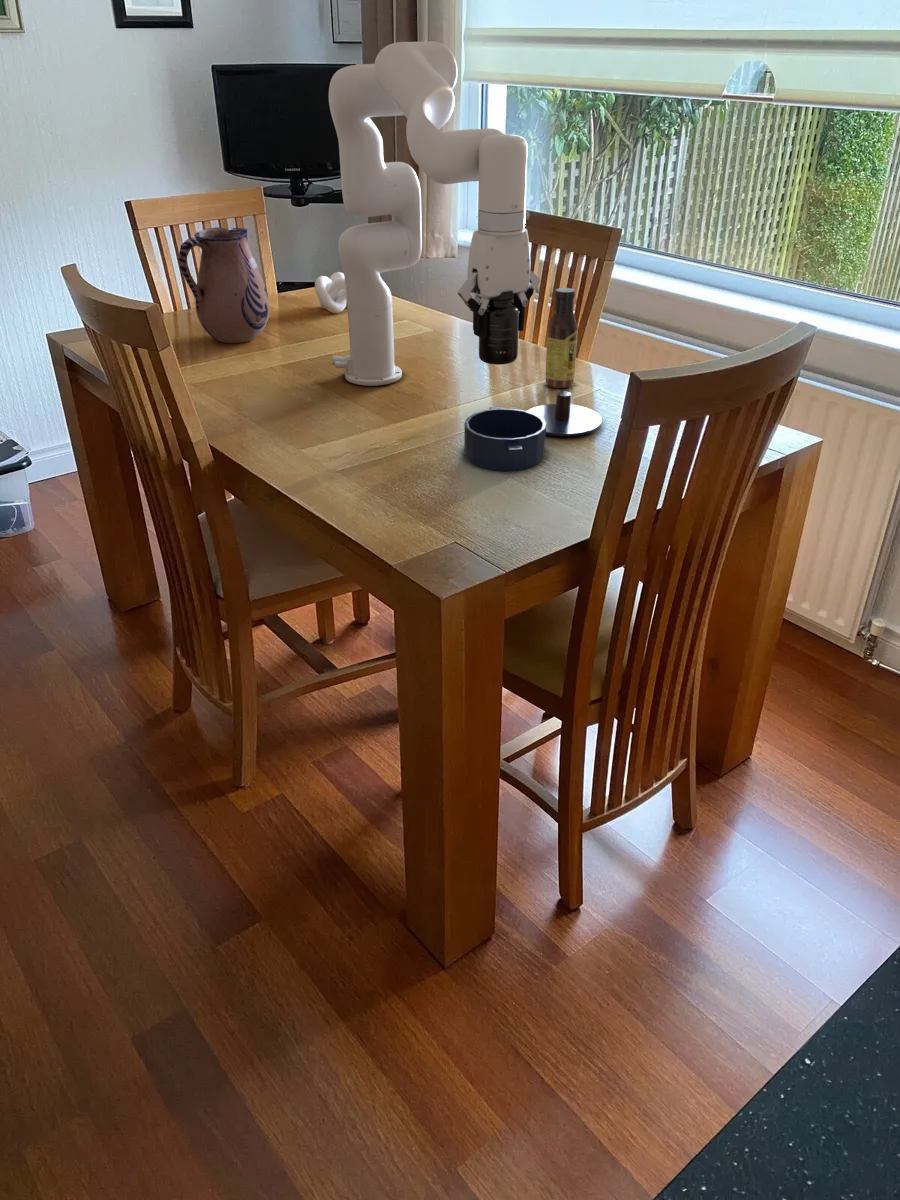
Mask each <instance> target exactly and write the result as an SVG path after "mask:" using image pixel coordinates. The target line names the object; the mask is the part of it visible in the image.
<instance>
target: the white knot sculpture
mask: <svg viewBox="0 0 900 1200" xmlns="http://www.w3.org/2000/svg"><path fill="white" fill-rule="evenodd" d="M314 290H315V294H316V296H317V299H318V301H319V305H320V307H321V308H322V309H325V310H327V311H328V312H330V313H332V314H339V313H341V312H343V311H344V310H345V309H346V308H347V295H346V285H345V278H344V272H340V271H337V272H336V271H335V272H334V273H332V274H331V275H330V276H329V277H328V276H325V275H320V276H318V277H317V278H316V280H315V282H314Z"/></svg>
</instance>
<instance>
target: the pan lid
mask: <svg viewBox="0 0 900 1200" xmlns="http://www.w3.org/2000/svg"><path fill="white" fill-rule="evenodd" d="M571 400H572V393H571V392H570V391H565V390H561V391H557V392H556V397H555V403H549V404H541V405H538V406H534V407H532V408H530V409H528V410H527V411H528V412H531V413H534V414H536V415H538V416H540V417H541V418H543V419H544V421H545V423H546V435H549V436H557V437H576V436H583V435H588V434H591V433H592V432H595V431H597V430H598V429H599V428H601V426H602V423H603V419H602V417H601V415H600V414H599V413H598V412H596V411H595V410H593V409H590V408H588V407H585V406H582V405H577V404H571V403H572V402H571Z"/></svg>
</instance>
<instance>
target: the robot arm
mask: <svg viewBox="0 0 900 1200" xmlns="http://www.w3.org/2000/svg"><path fill="white" fill-rule="evenodd" d="M457 80H458V64H457V60H456V57H455V55H454V54H453V52H452V51H451V49H450V48H449V47H448V46H447V45H446V44H444V43H442V42H439V41H399V42H398V41H397V42H393V43H390V44H388V45H386V46H384V47H383V48H382V49H381V50H380V51H379V52H378V53H377V55H376V57H375V61H374V63H363V64H362V63H361V64H353V65H347V66H344V67H342V68H340V69H338V70H337V71H336V72H335V73H334V74H333V75H332V77H331V79H330V82H329V87H328V106H329V111H330V115H331V118H332V123H333V125H334V128H335V132H336V136H337V141H338V151H339V152H338V153H339V165H340V166H339V167H340V181H341V192H342V201H343V205H344V209H345V210H346V212H347V213H348V214H349V215H350V216H351V217H352V216H353V217H354V218H373V217H374V218H375V217H382V216H389V215H390V216H391V220H386V221H379V222H378V221H377V222H376V221H375V222H370V223H369V222H368V223H361V224H356V225H354V226H353V225H352V226H350V227H347V229H345V230H344V231H343V232H342V233H341V234H340V236H339V238H338V243H337V244H338V245H337V247H338V248H337V249H338V255H339V259H340V263H341V269H342V273H343V274H344V278H345V285H346V295H347V320H348V321H347V322H348V336H349V337H348V338H349V339H348V340H349V353H350V354H349V355H346V356H341V355H339V356H338V355H333V356H332V358H331V363H332V365H333V366H334V367H335V369H345V370H344V378H345V380H346V381H347V382H349V383H351V384H354V385H358V386H367V387H377V386H384V385H390V384H393V383H395V382H398V381H399V380H400V379H402V377H403V371H402V369H401V367H400V366H397V365H395V340H394V316H393V315H394V314H393V313H394V312H393V296H392V292H391V290H390V288H389V286H388V285H387V283H386V282H385V281H384V279H382V277H381V276H382V275H381V274H382V273H386V272H392V271H397V270H398V271H399V270H403V269H410V268H412V267H414V266H416V265H417V263H418V262H419V261H420V259H421V255H422V250H423V249H422V248H423V230H422V227H423V225H422V191H421V185H420V181H419V178H418V175H417V172H416V171H415V169H414V168H413V167H412V165H410V164H408V163H406V162H404V161H390V162H385V159H384V142H383V137H382V135H381V132H380V130H379V129H378V127H377V126H376V124H375V123H374V121H373V120H372V118H377V117H378V118H379V117H398V116H404V117H405V118H406V119H407V120H406V127H405V133H406V135H405V136H406V142H407V146H408V150H409V153H410V155H411V157H412V159H413V160H414V162H415V163H416V165H417V166H418V168H420V169H421V171H422V172H423V173H424V174H425V175H426V176H427V177H428V178H429V179H431V180H432V181H433V182H435V183H438V184H442V185H453V184H460V183H469V182H470V183H471V182H478V187H477V188H478V189H477V190H478V194H477V196H478V199H477V202H478V203H477V230H474V231H473V233H472V237H471V241H470V247H469V251H468V252H469V253H468V261H467V263H468V264H467V276H466V277H467V279H466V280H465V281H464V283H463V284H462V285H461V287H460V288H458V290H457V295H458V296H459V297H460V299H461V300H462V301H463V302H464V304H465V305H466V306H467V307H468V308H469V310H470V311H471V312H472V331H473V334H474V336H476V337H478V338H479V337H481V338H483V339H484V338H487V327H488V316H487V314H484V313H485V310H486V308H487V305H488V303H489V300H490V298H492V297H496V296H499V295H500V294H501V293H502V292H507V291H513V293H514V301H513V302H512V303H514V304H515V305H516V306H517V307H518V309H519V332H523V331H524V324H525V323H524V322H525V309H526V307H528V305H529V301H530V299H531V298H532V296H533V295H534V292H535V291H536V289H537V287H538V286H539V284H540V283H541V279H540V277H538V276H537V274H536V273H535V272H534V271H532V270H531V248H530V240H529V239H530V238H529V234H528V229H527V228H525V227H526V225H525V224H526V220H529V219H530V217H531V213H530V210H526V206H527V205H526V203H527V178H528V152H529V151H528V148H529V147H528V143H527V142H528V141H527V140H526V139H525V138H524V137H523V136H521V135H517V134H509V133H504V132H503V131H501V130H499V129H496V128H476V129H475V128H470V129H455V130H446V131H444V130H443V131H442V130H441V129H442V128H444V126H445V125H446V124H447V123H448V122H449V120H450V118H451V117H452V114H453V112H454V108H455V103H456V101H455V94H454V88H455V86H456V84H457ZM472 294H474V296H473V297H472Z"/></svg>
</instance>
